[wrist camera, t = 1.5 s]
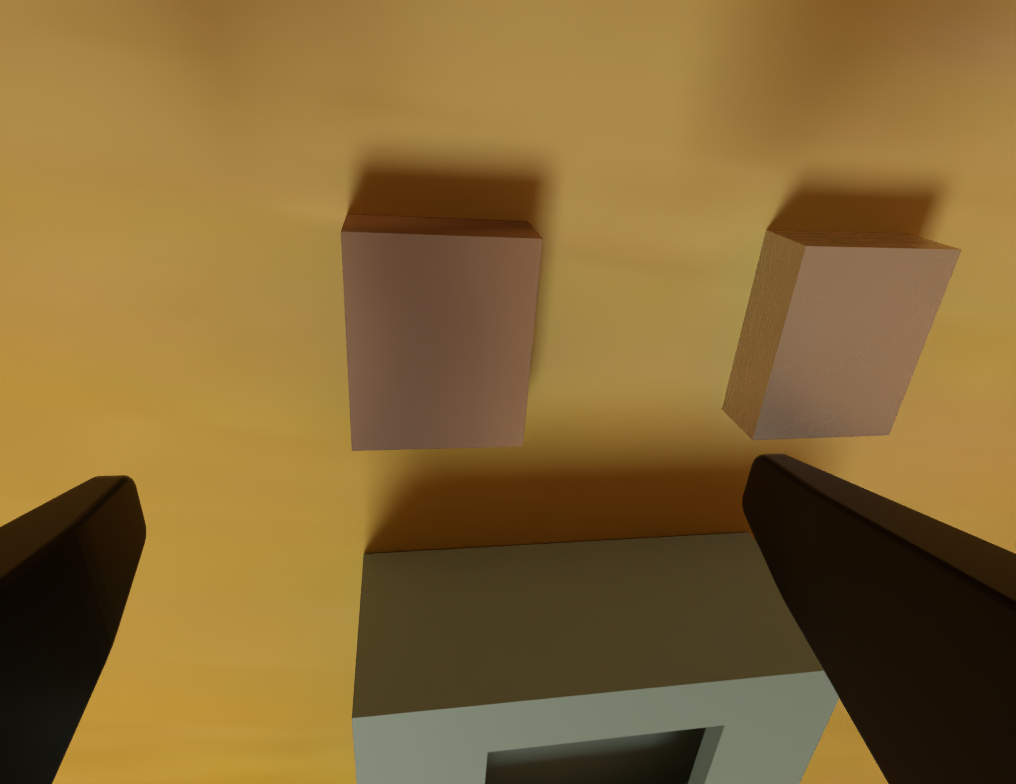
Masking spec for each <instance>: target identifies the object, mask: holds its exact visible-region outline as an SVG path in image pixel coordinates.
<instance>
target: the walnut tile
mask: <svg viewBox="0 0 1016 784" xmlns="http://www.w3.org/2000/svg"><path fill="white" fill-rule="evenodd" d="M542 242H543V239H542V237H541V236H540V235H539V234H538V233H537V232H536V231H535V229H534V228H533V227H532V226H531V225H530V224H529V223H528V222H527V221H503V220H479V219H455V218H431V217H407V216H383V215H359V214H347V216H346V218H345V221H344V224H343V227H342V230H341V243H342V263H343V282H344V302H345V322H346V342H347V362H348V381H349V401H350V421H351V441H352V451H360V450H400V449H440V448H481V447H521V446H523V436H524V426H525V416H526V406H527V395H528V385H529V375H530V365H531V354H532V344H533V334H534V324H535V314H536V303H537V293H538V283H539V273H540V263H541V252H542Z"/></svg>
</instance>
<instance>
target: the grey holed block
mask: <svg viewBox="0 0 1016 784" xmlns="http://www.w3.org/2000/svg"><path fill="white" fill-rule="evenodd" d="M838 699H839V696H838V695H837V693H836V691H835V689H834V688H833V686H832V684H831V682H830V681H829V679H828V677H827V675H826V674H825V672H824V670H823V668H822V667H821V665H820V663H819V661H818V660H817V658H816V656H815V654H814V653H813V651H812V649H811V647H810V646H809V644H808V642H807V641H806V639H805V637H804V635H803V634H802V632H801V630H800V628H799V627H798V625H797V623H796V621H795V620H794V618H793V616H792V614H791V613H790V611H789V609H788V607H787V605H786V604H785V602H784V600H783V598H782V596H781V594H780V592H779V590H778V588H777V586H776V584H775V582H774V579H773V577H772V575H771V573H770V570H769V568H768V566H767V564H766V561H765V559H764V557H763V555H762V552H761V550H760V548H759V546H758V543H757V542H756V541H755V540H754V538H753V537H752V536H751V534H750V533H749V532H745V533H727V534H709V535H691V536H674V537H656V538H638V539H621V540H603V541H585V542H568V543H550V544H532V545H515V546H497V547H479V548H462V549H444V550H426V551H409V552H391V553H373V554H364V558H363V572H362V586H361V599H360V613H359V627H358V641H357V655H356V669H355V683H354V697H353V710H352V726H353V739H354V753H355V766H356V779H357V784H799V783H800V781H801V779H802V777H803V775H804V773H805V770H806V768H807V766H808V764H809V762H810V760H811V757H812V755H813V753H814V751H815V749H816V747H817V744H818V742H819V740H820V738H821V736H822V734H823V732H824V729H825V727H826V725H827V723H828V721H829V719H830V716H831V714H832V712H833V710H834V708H835V706H836V703H837V701H838Z"/></svg>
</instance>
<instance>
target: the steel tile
mask: <svg viewBox="0 0 1016 784" xmlns="http://www.w3.org/2000/svg"><path fill="white" fill-rule="evenodd" d="M960 252H961V249H957V248H954V247H951V246H948V245H944V244H941V243H938V242H934V241H931V240H928V239H924V238H921V237H918V236H914V235H911V234H894V233H859V232H823V231H788V230H766V233H765V237H764V241H763V245H762V249H761V253H760V257H759V261H758V265H757V269H756V273H755V277H754V281H753V285H752V289H751V294H750V298H749V302H748V306H747V310H746V314H745V318H744V322H743V326H742V330H741V334H740V338H739V342H738V346H737V350H736V354H735V358H734V362H733V366H732V370H731V374H730V379H729V383H728V387H727V391H726V395H725V399H724V403H723V407H722V410H723V411H724V412H725V413H726V414H727V415H728V416H729V417H730V418H731V419H732V420H733V421H734V422H735V423H736V424H737V425H738V426H739V427H740V428H741V429H742V430H743V431H744V432H745V433H746V434H747V435H748V436H749V437H750V438H751V439H752V440H767V439H795V438H823V437H851V436H879V435H889V434H890V431H891V429H892V426H893V423H894V421H895V418H896V416H897V413H898V411H899V408H900V406H901V403H902V400H903V398H904V395H905V393H906V390H907V388H908V385H909V383H910V380H911V377H912V375H913V372H914V370H915V367H916V365H917V362H918V359H919V357H920V354H921V352H922V349H923V347H924V344H925V342H926V339H927V336H928V334H929V331H930V329H931V326H932V324H933V321H934V319H935V316H936V313H937V311H938V308H939V306H940V303H941V301H942V298H943V296H944V293H945V290H946V288H947V285H948V283H949V280H950V278H951V275H952V273H953V270H954V267H955V265H956V262H957V260H958V257H959V255H960Z"/></svg>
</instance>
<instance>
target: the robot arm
mask: <svg viewBox="0 0 1016 784" xmlns="http://www.w3.org/2000/svg"><path fill="white" fill-rule="evenodd" d="M742 506H743V511H744V514H745V516H746V519H747V521H748V523H749V525H750V528H751V530H752V532H753V534H754V537H755V539H756V541H757V543H758V546H759V548H760V550H761V552H762V555H763V557H764V559H765V561H766V564H767V566H768V568H769V570H770V573H771V575H772V577H773V579H774V582H775V584H776V586H777V588H778V590H779V592H780V594H781V596H782V598H783V600H784V602H785V604H786V605H787V607H788V609H789V611H790V613H791V614H792V616H793V618H794V620H795V621H796V623H797V625H798V627H799V628H800V630H801V632H802V634H803V635H804V637H805V639H806V641H807V642H808V644H809V646H810V647H811V649H812V651H813V653H814V654H815V656H816V658H817V660H818V661H819V663H820V665H821V667H822V668H823V670H824V672H825V674H826V675H827V677H828V679H829V681H830V682H831V684H832V686H833V688H834V689H835V691H836V693H837V695H838V696H839V698H840V700H841V702H842V703H843V705H844V707H845V709H846V710H847V712H848V714H849V715H850V717H851V719H852V721H853V722H854V724H855V726H856V728H857V729H858V731H859V733H860V735H861V736H862V738H863V740H864V742H865V743H866V745H867V747H868V749H869V750H870V752H871V754H872V756H873V757H874V759H875V761H876V763H877V764H878V766H879V768H880V770H881V771H882V773H883V775H884V777H885V778H886V780H887V782H888V783H889V784H1016V554H1015V553H1013V552H1010V551H1008V550H1006V549H1003V548H1001V547H999V546H996V545H994V544H992V543H989V542H987V541H985V540H982V539H980V538H978V537H975V536H973V535H971V534H968V533H966V532H964V531H961V530H959V529H957V528H955V527H952V526H950V525H948V524H945V523H943V522H941V521H938V520H936V519H934V518H931V517H929V516H927V515H924V514H922V513H920V512H917V511H915V510H913V509H910V508H908V507H906V506H903V505H901V504H899V503H897V502H894V501H892V500H890V499H887V498H885V497H883V496H880V495H878V494H876V493H873V492H871V491H869V490H866V489H864V488H862V487H859V486H857V485H855V484H852V483H850V482H848V481H845V480H843V479H841V478H838V477H836V476H834V475H832V474H829V473H827V472H825V471H822V470H820V469H818V468H815V467H813V466H811V465H808V464H806V463H804V462H801V461H799V460H797V459H794V458H792V457H790V456H787V455H785V454H762V455H759V456H757V457H756V458H755V459H754V461H753V463H752V466H751V470H750V473H749V477H748V480H747V484H746V487H745V490H744V494H743V499H742ZM145 539H146V524H145V520H144V516H143V512H142V508H141V504H140V500H139V496H138V492H137V488H136V485H135V483H134V481H133V479H132V478H130V477H129V476H125V475H121V476H98V477H94V478H91V479H90V480H88V481H86V482H84V483H82V484H80V485H78V486H76V487H75V488H73V489H71V490H69V491H67V492H65V493H63V494H61V495H60V496H58V497H56V498H54V499H52V500H50V501H48V502H46V503H45V504H43V505H41V506H39V507H37V508H35V509H33V510H31V511H30V512H28V513H26V514H24V515H22V516H20V517H18V518H16V519H15V520H13V521H11V522H9V523H7V524H5V525H3V526H1V527H0V784H52V783H53V780H54V778H55V776H56V774H57V771H58V769H59V767H60V765H61V762H62V760H63V758H64V756H65V753H66V751H67V749H68V747H69V744H70V742H71V740H72V737H73V735H74V733H75V731H76V728H77V726H78V724H79V722H80V719H81V717H82V715H83V713H84V710H85V708H86V706H87V704H88V701H89V699H90V697H91V695H92V692H93V690H94V688H95V686H96V683H97V681H98V679H99V677H100V674H101V672H102V670H103V667H104V665H105V663H106V660H107V658H108V656H109V653H110V651H111V648H112V646H113V643H114V640H115V637H116V634H117V631H118V628H119V625H120V622H121V619H122V615H123V612H124V609H125V606H126V602H127V599H128V596H129V593H130V589H131V586H132V583H133V580H134V576H135V573H136V570H137V567H138V563H139V560H140V557H141V554H142V550H143V547H144V544H145Z"/></svg>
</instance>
